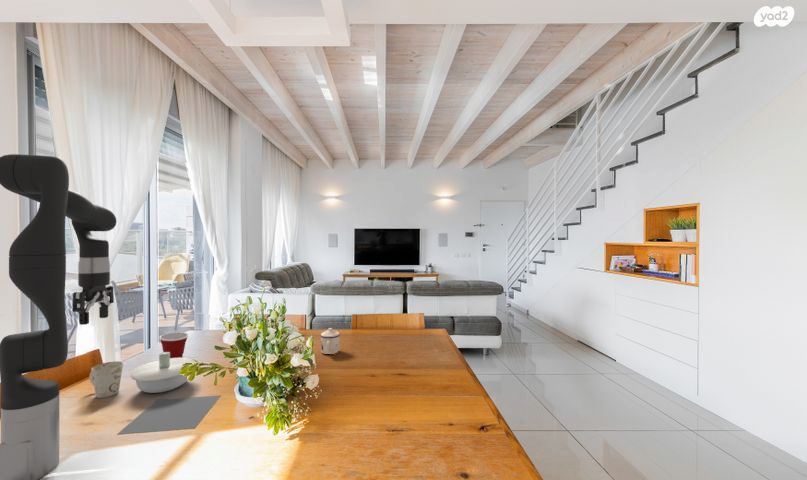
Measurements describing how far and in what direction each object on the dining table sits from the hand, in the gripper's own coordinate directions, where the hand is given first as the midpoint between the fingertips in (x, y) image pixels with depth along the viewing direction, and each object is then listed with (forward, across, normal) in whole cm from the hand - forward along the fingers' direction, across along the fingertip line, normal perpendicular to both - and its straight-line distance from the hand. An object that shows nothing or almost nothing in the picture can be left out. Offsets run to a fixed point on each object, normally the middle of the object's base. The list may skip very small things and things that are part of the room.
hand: (94, 320), depth 108 cm
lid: (+21, +11, -16) cm, 28 cm away
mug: (+28, +10, +4) cm, 30 cm away
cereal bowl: (+28, +11, -16) cm, 34 cm away
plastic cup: (+28, +38, -6) cm, 48 cm away
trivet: (+28, -9, -28) cm, 41 cm away
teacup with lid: (+28, +40, -73) cm, 88 cm away
